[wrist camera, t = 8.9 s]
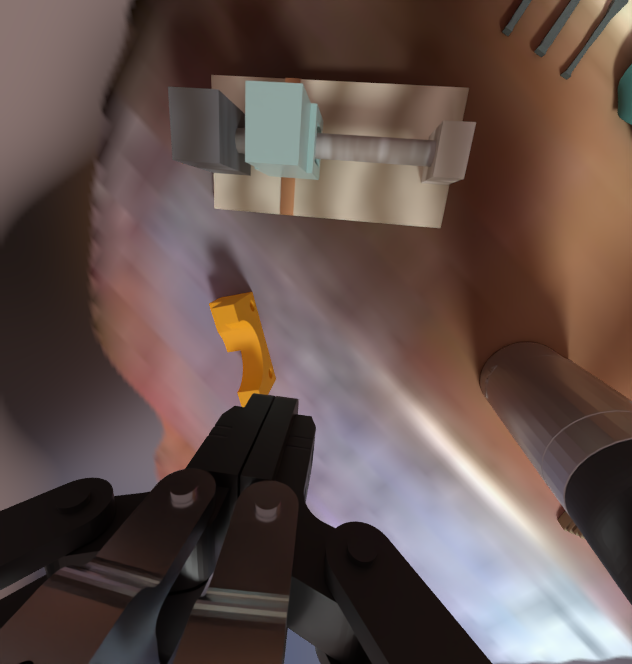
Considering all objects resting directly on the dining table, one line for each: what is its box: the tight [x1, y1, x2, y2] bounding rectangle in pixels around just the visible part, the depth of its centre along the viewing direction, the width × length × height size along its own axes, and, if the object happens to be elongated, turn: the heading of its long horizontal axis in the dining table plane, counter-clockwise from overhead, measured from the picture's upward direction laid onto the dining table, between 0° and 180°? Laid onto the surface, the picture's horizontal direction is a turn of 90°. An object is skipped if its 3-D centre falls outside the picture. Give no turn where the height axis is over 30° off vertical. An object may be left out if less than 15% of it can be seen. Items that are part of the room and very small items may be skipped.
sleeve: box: [245, 81, 323, 180], centre depth 27 cm, size 5×5×9 cm
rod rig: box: [168, 75, 476, 228], centre depth 29 cm, size 24×12×10 cm, turn 85°
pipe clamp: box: [209, 292, 276, 407], centre depth 39 cm, size 12×4×6 cm, turn 12°
